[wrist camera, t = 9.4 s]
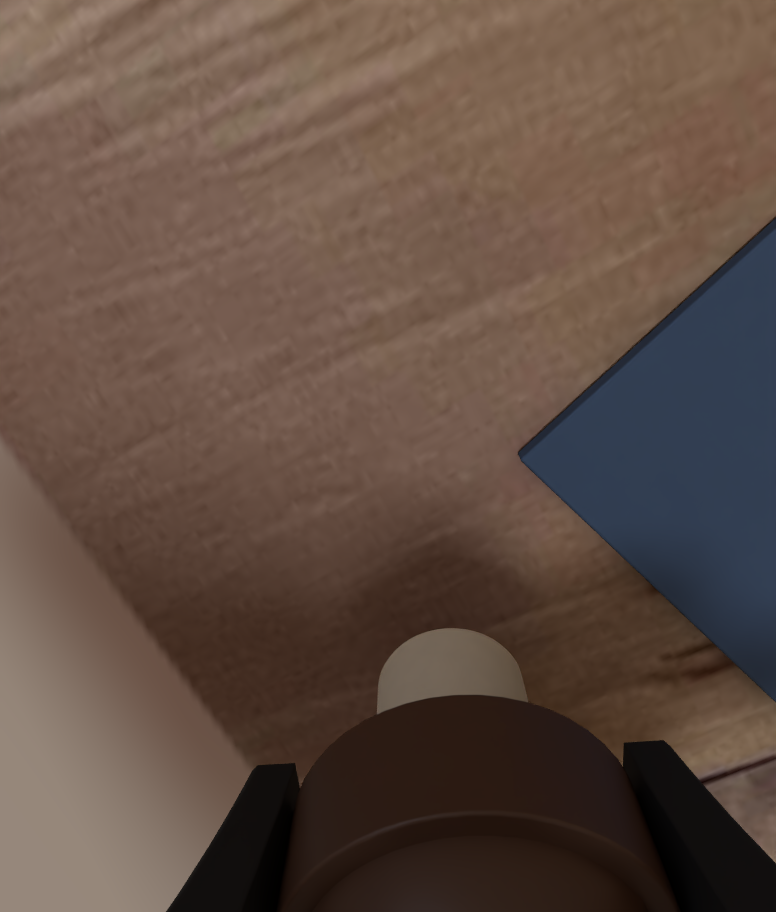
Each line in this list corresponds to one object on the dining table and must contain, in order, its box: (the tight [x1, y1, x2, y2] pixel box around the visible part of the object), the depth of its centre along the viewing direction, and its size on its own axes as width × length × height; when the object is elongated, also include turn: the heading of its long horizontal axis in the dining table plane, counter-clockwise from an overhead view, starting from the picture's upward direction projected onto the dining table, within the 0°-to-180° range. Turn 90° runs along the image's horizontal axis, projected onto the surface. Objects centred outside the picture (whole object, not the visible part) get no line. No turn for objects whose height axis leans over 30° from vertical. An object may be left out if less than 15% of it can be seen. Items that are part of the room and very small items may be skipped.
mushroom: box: [276, 628, 681, 912], centre depth 10 cm, size 5×5×7 cm
